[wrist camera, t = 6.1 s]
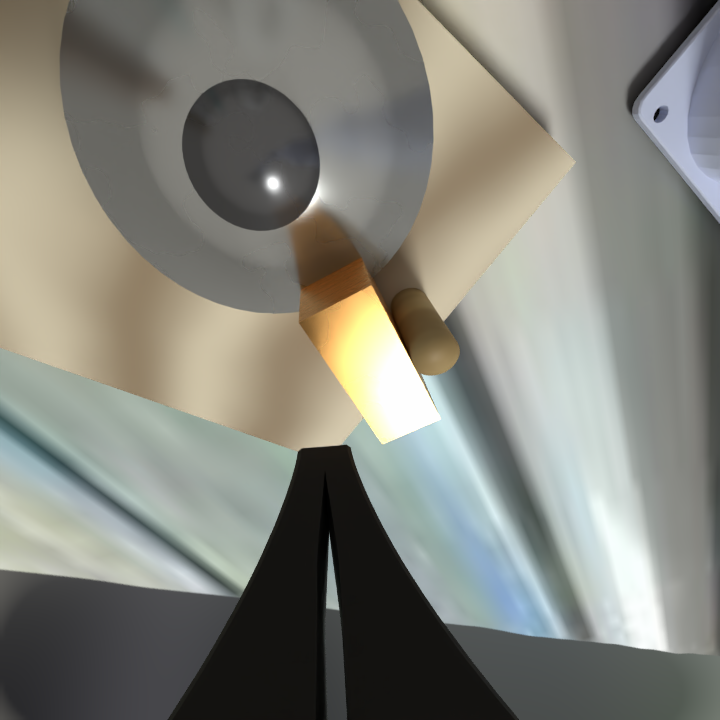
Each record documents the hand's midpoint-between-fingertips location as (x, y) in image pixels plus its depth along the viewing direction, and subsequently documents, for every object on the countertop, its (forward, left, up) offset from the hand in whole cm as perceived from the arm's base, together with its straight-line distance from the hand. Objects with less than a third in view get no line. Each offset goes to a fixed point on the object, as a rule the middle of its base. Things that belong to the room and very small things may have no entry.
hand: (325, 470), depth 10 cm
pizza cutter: (+3, -4, -6) cm, 8 cm away
